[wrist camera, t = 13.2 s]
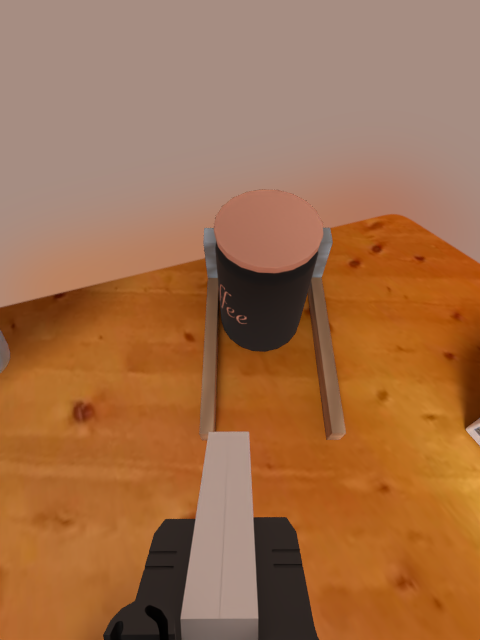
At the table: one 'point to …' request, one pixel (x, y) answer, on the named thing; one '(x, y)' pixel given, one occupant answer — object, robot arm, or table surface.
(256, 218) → the coffee jar
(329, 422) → the channel
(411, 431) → the table surface
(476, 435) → the light bulb box
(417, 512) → the table surface
